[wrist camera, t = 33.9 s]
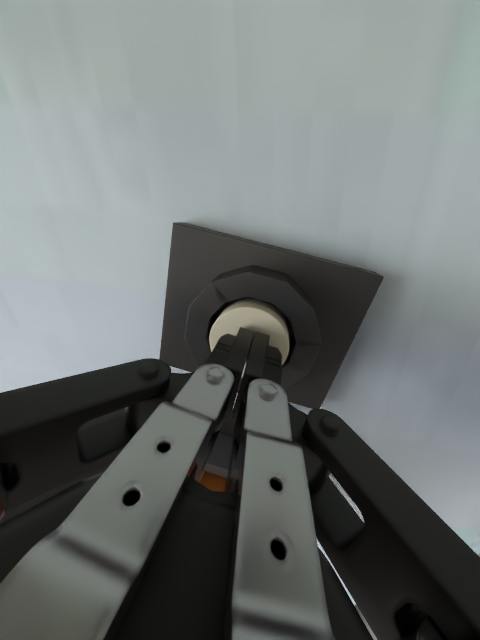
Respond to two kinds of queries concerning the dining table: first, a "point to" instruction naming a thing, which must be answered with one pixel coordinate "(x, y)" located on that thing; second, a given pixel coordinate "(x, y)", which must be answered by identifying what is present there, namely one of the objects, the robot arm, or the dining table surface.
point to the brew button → (253, 323)
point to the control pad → (271, 286)
